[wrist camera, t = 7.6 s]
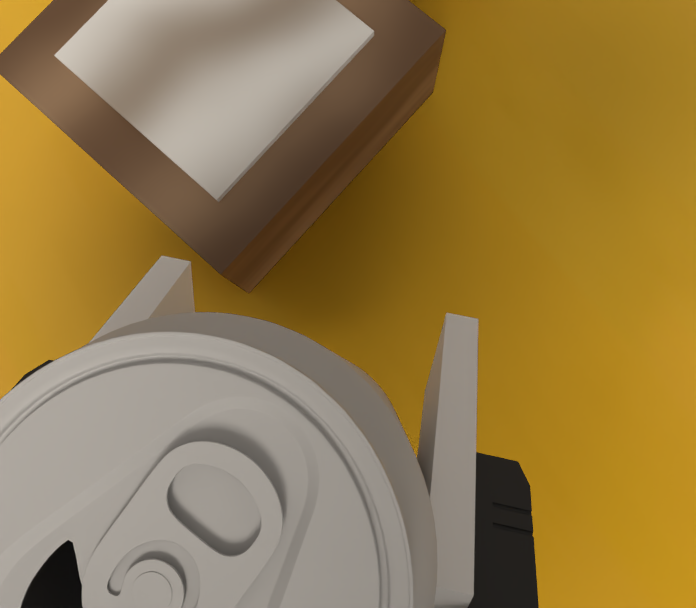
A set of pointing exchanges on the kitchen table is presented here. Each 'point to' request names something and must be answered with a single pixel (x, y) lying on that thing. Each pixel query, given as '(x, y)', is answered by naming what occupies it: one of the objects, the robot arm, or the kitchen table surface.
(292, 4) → the walnut riser
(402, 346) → the kitchen table surface
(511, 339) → the kitchen table surface
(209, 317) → the beverage can
